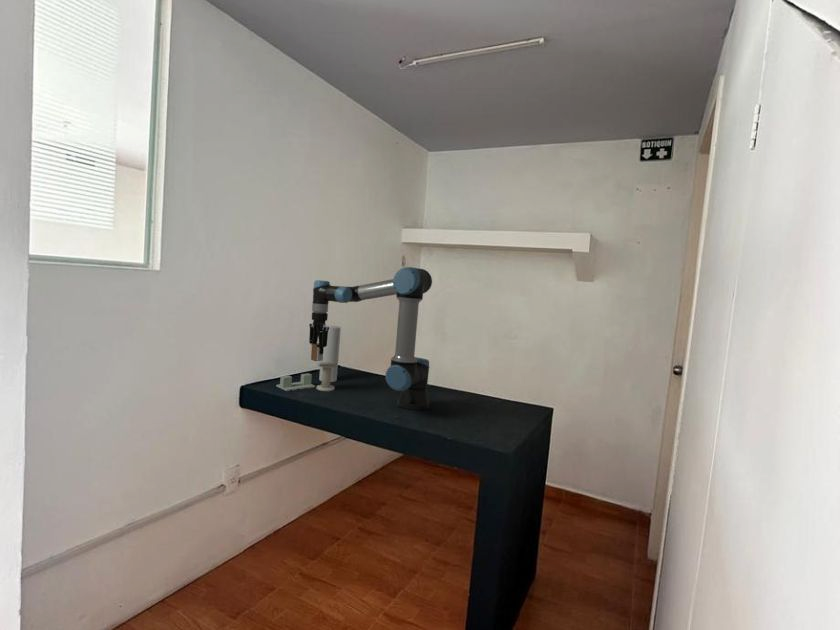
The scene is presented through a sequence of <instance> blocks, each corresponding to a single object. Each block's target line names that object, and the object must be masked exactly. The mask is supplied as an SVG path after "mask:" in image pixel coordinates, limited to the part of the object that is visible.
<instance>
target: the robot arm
mask: <svg viewBox="0 0 840 630" xmlns="http://www.w3.org/2000/svg"><path fill="white" fill-rule="evenodd" d="M313 283H314V284H313V288H312V290H313V291H312V292H313V294H312V306H311V307H312V308H311V311H312V312H311V321H312V323H309V339H308V340H309V341H308V342H309V344H310V345H311V346H312V344H314V343H319V346H318V351H317V361H316V362H321V360H323V350H324V347H326V346H327V338H328V330H329V327H327V326H328V325H326V321H328V319H329V318H328V317H329V316H328V315H329V314H328V312H329V302H333V303H334V302H336V303H340V304H341V303H342V304H347V303H358V302H361V301H365V300H371V299H377V298H384V297H388V296H396V299H397V300H398V302H399V303H398V313H397V314H398V315H397V327H396V338H395V339H396V340H395V349H394V350H395V351H394V355H393V356H391V359H390V366H389V367H388V368H387V369H386V371H385V382H386V383H387V385H388V386H389V387H390V388H391V389H392V390H394V391H398V392H400V393H399V397H398V398H397V406H399V407H400V408H403V409H406V410H413V411H423V410H427V409H429V408H430V400H429V397H428V382H429V371H430V361H429V360H428V359H426V358H423V357H416V356H415V351H416V339H417V328H418V317H419V304H420V302H421V301H423V300H424V299H423V297H424V294H426V293H427V292H429V290H430V289H431V287H432V285H433V278H432V276H431V274H430V273H429V271H428V270H426V269H423V268H419V267H418V268H417V267H411V266H409V267H408V266H406V267H402V268H400V269H398V270H397V271H396V273H395V274H394V276H393V279H387V280H386V279H385V280H383V281H382V280H380V281H377V282H371V283H365V284H360V285H355V286H340V285H338V286H337V285H331V283H330V281H328V280H315V281H314V282H313Z"/></svg>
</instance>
